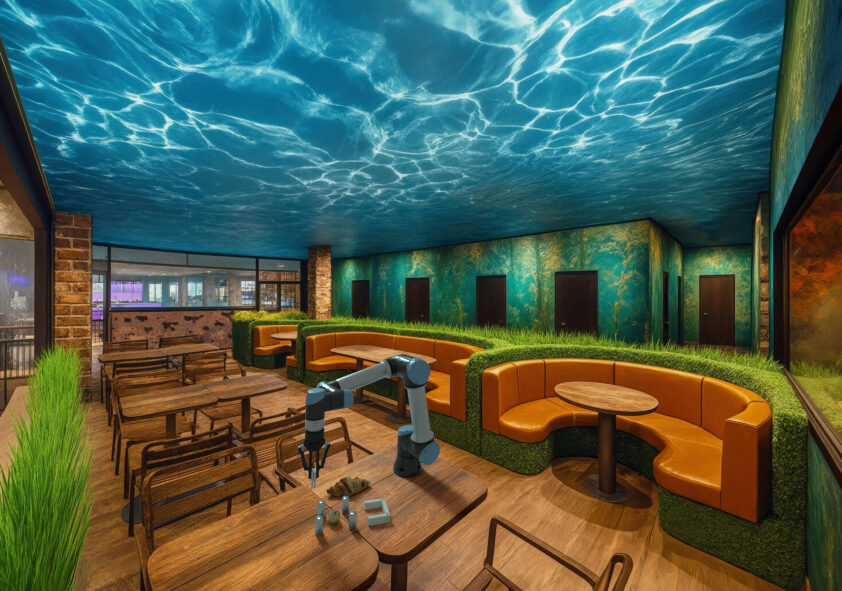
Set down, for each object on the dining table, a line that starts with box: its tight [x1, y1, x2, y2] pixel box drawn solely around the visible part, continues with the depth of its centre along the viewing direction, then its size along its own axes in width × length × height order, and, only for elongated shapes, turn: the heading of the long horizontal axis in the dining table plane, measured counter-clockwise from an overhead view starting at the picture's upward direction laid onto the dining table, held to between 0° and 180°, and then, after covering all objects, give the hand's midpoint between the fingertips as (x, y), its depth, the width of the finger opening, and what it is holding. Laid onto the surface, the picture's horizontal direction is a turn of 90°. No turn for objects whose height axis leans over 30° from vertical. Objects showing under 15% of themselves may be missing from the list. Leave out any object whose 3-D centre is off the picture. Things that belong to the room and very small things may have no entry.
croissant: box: [325, 476, 372, 497], centre depth 164 cm, size 21×10×8 cm, turn 118°
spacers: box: [314, 495, 358, 537], centre depth 143 cm, size 14×16×6 cm
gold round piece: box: [327, 509, 341, 527], centre depth 143 cm, size 5×5×4 cm
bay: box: [363, 497, 391, 527], centre depth 148 cm, size 12×9×3 cm
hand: (313, 485), depth 140 cm, fingers closed
